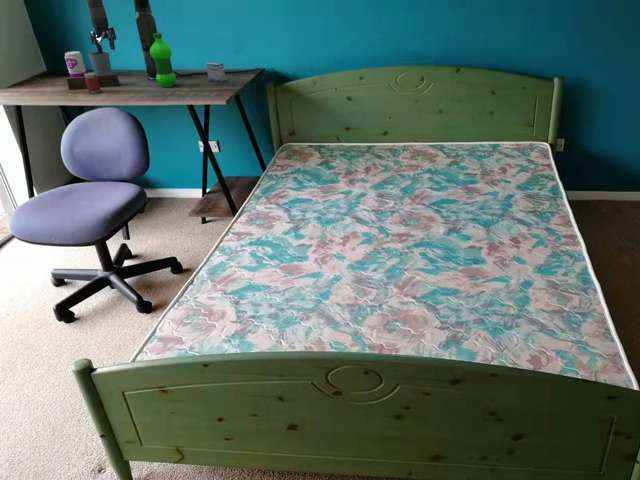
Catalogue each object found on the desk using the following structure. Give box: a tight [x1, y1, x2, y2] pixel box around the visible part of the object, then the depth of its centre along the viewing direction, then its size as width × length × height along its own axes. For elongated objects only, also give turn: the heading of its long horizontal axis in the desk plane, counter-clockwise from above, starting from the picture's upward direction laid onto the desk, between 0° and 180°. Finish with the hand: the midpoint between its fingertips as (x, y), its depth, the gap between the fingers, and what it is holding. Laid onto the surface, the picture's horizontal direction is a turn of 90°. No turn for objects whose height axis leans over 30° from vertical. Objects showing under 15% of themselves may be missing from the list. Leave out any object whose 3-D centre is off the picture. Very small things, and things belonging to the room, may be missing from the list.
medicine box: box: [205, 61, 226, 83], centre depth 310 cm, size 8×4×9 cm, turn 68°
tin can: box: [84, 72, 102, 95], centre depth 296 cm, size 6×6×9 cm
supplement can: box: [64, 50, 88, 78], centre depth 311 cm, size 8×8×15 cm
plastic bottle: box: [150, 32, 177, 88], centre depth 299 cm, size 10×10×25 cm
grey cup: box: [88, 50, 113, 75], centre depth 324 cm, size 10×10×12 cm
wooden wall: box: [65, 72, 121, 91], centre depth 306 cm, size 24×4×6 cm, turn 107°
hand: (107, 51), depth 299 cm, fingers open, 8 cm apart
